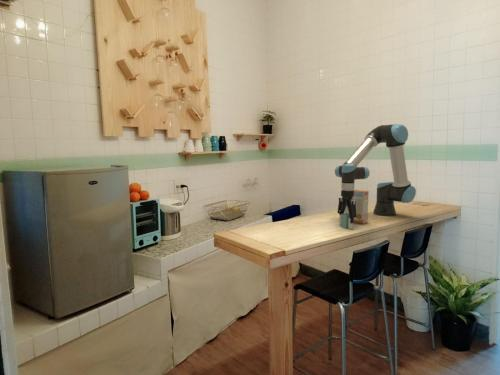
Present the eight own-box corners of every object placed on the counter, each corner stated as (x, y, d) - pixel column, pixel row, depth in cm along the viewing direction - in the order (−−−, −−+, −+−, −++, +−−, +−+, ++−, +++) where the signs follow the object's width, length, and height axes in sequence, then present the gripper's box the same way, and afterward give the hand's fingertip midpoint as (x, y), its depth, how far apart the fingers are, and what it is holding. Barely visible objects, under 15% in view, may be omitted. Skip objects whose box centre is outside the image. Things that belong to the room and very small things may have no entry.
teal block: (347, 225, 208) (347, 213, 207) (352, 227, 203) (352, 214, 202) (340, 226, 206) (340, 213, 205) (345, 228, 202) (346, 215, 201)
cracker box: (367, 223, 215) (369, 190, 212) (362, 224, 211) (364, 191, 208) (348, 219, 225) (349, 188, 223) (343, 220, 221) (344, 189, 219)
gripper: (332, 188, 210) (331, 223, 213) (353, 192, 191) (352, 231, 194) (342, 187, 213) (340, 222, 216) (364, 191, 194) (362, 230, 196)
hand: (346, 226), depth 205 cm, fingers open, 8 cm apart
